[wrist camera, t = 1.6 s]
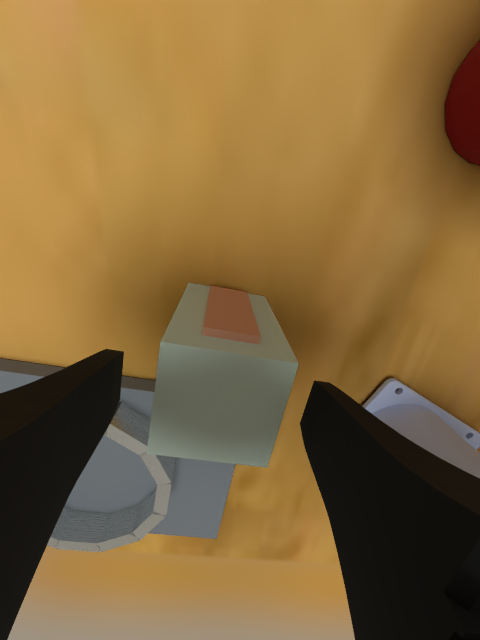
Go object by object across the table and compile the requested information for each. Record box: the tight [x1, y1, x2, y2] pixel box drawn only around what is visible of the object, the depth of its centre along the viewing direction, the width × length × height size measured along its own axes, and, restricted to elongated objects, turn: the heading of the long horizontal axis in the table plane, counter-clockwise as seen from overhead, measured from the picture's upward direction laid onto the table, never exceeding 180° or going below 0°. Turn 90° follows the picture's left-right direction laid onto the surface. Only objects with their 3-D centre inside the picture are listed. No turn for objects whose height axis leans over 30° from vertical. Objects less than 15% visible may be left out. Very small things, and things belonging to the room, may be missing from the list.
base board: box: [0, 358, 235, 539], centre depth 19 cm, size 18×12×1 cm, turn 78°
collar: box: [47, 401, 176, 552], centre depth 18 cm, size 13×10×2 cm
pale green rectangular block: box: [147, 282, 299, 467], centre depth 14 cm, size 4×5×8 cm
